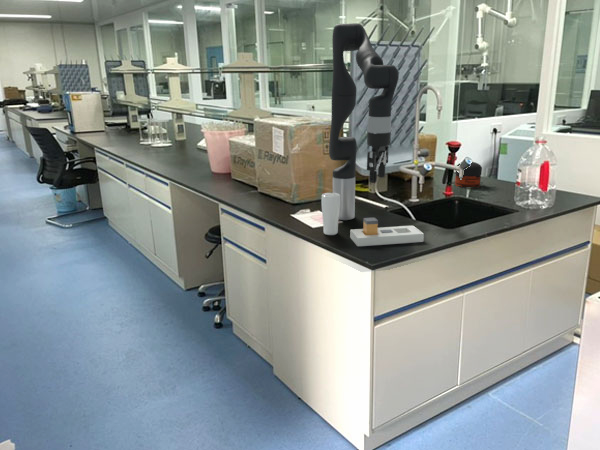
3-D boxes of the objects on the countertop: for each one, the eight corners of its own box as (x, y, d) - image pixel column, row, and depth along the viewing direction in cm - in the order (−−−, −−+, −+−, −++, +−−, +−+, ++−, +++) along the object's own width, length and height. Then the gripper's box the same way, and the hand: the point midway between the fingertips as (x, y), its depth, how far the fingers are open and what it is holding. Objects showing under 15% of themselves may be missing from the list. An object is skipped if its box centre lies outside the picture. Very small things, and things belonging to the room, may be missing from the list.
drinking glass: (338, 230, 182) (338, 192, 178) (340, 236, 176) (340, 196, 172) (320, 230, 182) (320, 192, 178) (322, 236, 176) (322, 197, 171)
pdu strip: (350, 237, 174) (350, 228, 173) (412, 233, 178) (413, 224, 177) (357, 246, 165) (357, 237, 164) (423, 241, 168) (423, 232, 167)
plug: (363, 239, 172) (363, 218, 170) (373, 238, 173) (374, 217, 170) (366, 242, 168) (366, 221, 166) (377, 242, 169) (377, 220, 167)
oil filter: (470, 182, 261) (449, 184, 258) (472, 159, 258) (451, 161, 254) (485, 186, 249) (464, 189, 246) (487, 163, 246) (466, 165, 242)
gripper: (375, 127, 161) (373, 174, 166) (360, 132, 149) (358, 183, 154) (397, 128, 157) (394, 176, 162) (383, 133, 145) (381, 185, 150)
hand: (377, 179), depth 158 cm, fingers open, 8 cm apart
